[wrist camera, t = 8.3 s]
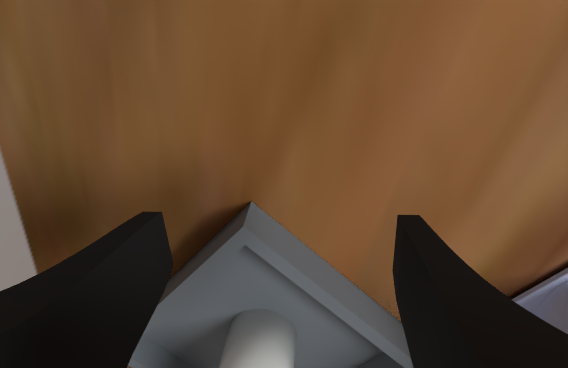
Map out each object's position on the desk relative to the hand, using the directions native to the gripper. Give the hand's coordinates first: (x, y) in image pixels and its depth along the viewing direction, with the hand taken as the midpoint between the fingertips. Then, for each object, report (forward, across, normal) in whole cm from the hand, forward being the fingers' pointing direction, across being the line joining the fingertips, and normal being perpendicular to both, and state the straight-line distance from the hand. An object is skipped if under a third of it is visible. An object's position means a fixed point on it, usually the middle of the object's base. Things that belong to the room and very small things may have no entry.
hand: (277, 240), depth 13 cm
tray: (+9, +3, +14) cm, 17 cm away
